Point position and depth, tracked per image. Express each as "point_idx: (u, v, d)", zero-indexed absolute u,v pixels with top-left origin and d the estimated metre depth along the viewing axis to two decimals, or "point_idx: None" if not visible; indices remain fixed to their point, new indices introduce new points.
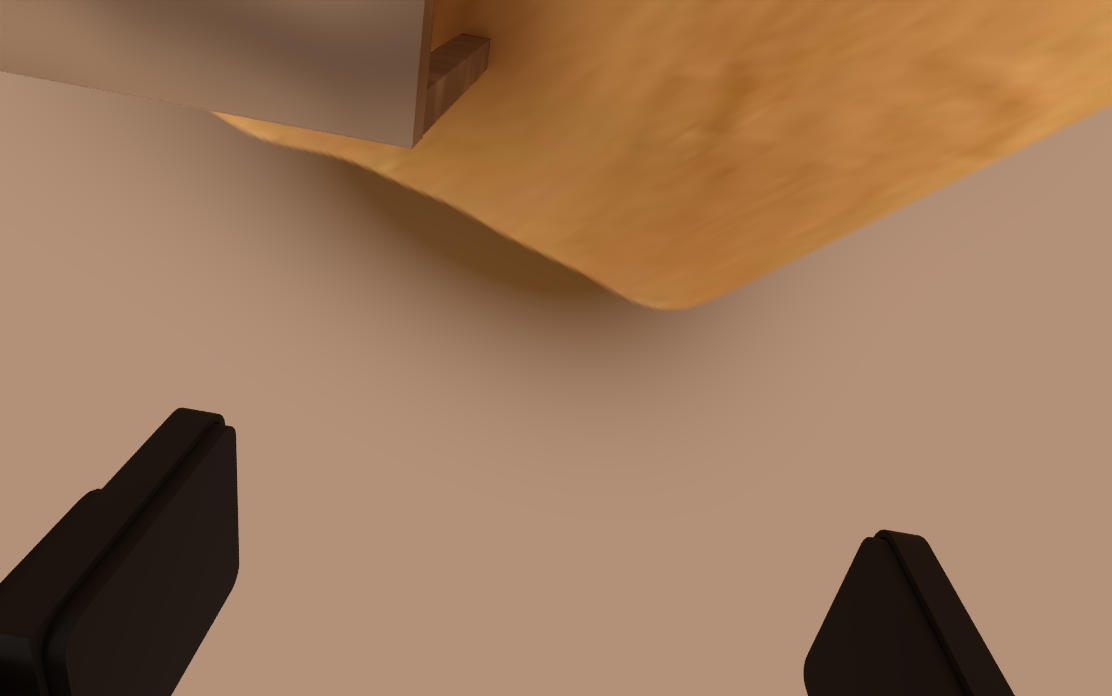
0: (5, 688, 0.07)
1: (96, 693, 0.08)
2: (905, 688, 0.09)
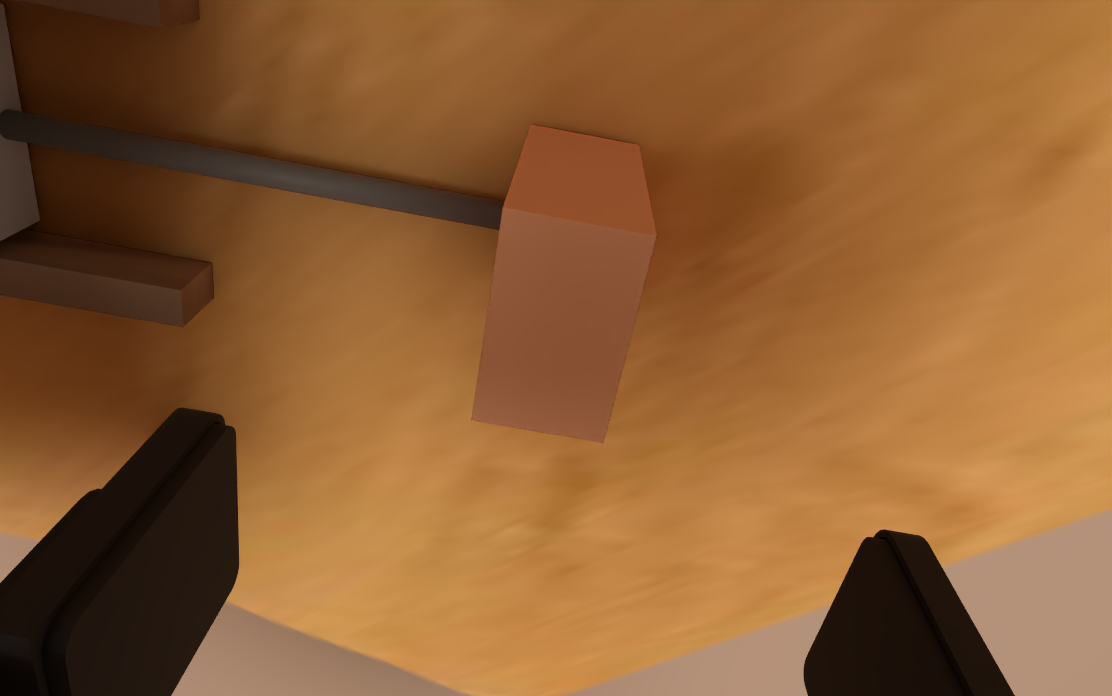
0: (5, 688, 0.07)
1: (96, 693, 0.08)
2: (905, 688, 0.09)
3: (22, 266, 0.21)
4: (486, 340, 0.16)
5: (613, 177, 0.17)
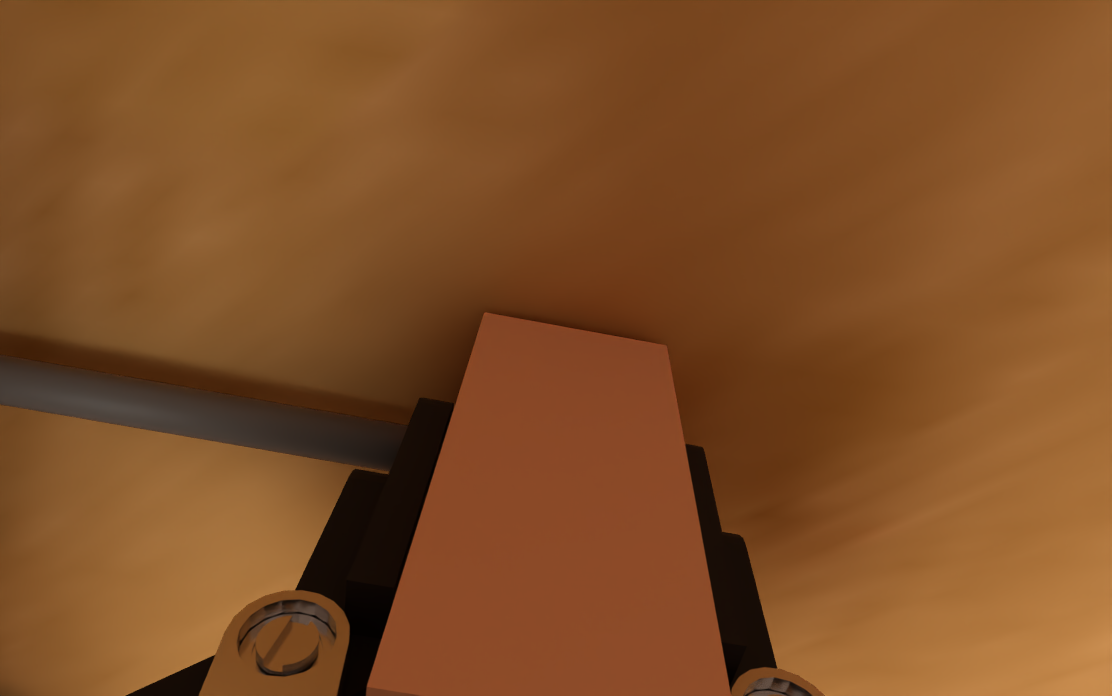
0: (360, 632, 0.08)
1: None
2: None
3: None
4: None
5: (629, 471, 0.09)
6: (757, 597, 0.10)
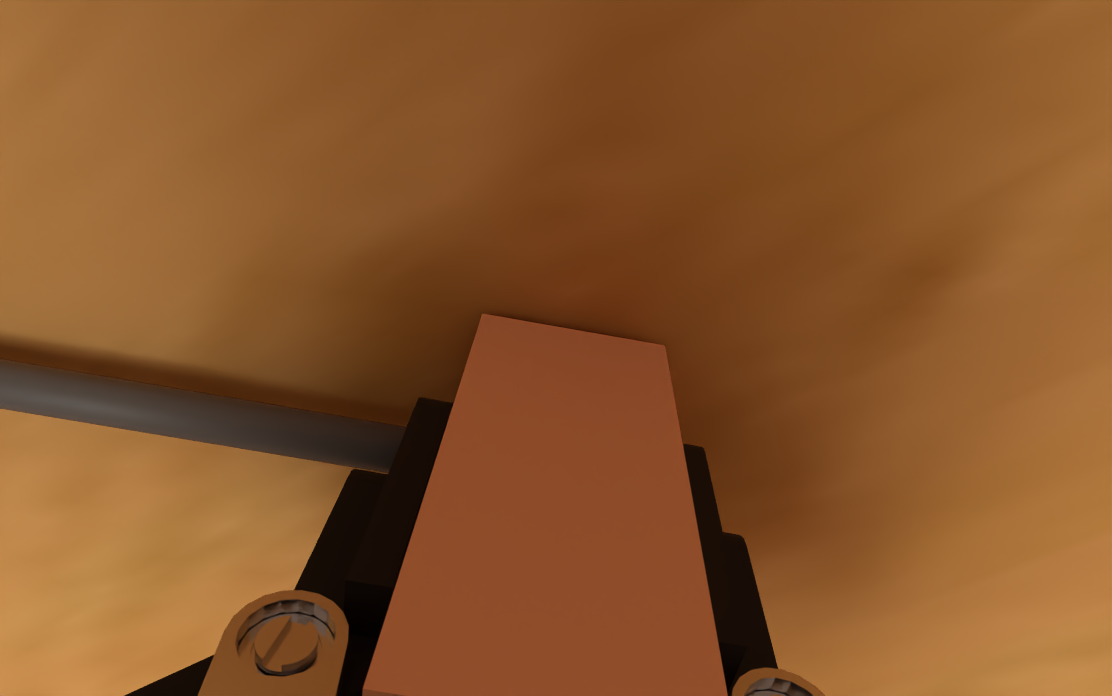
0: (359, 631, 0.08)
1: None
2: None
3: None
4: None
5: (626, 472, 0.09)
6: (758, 597, 0.10)
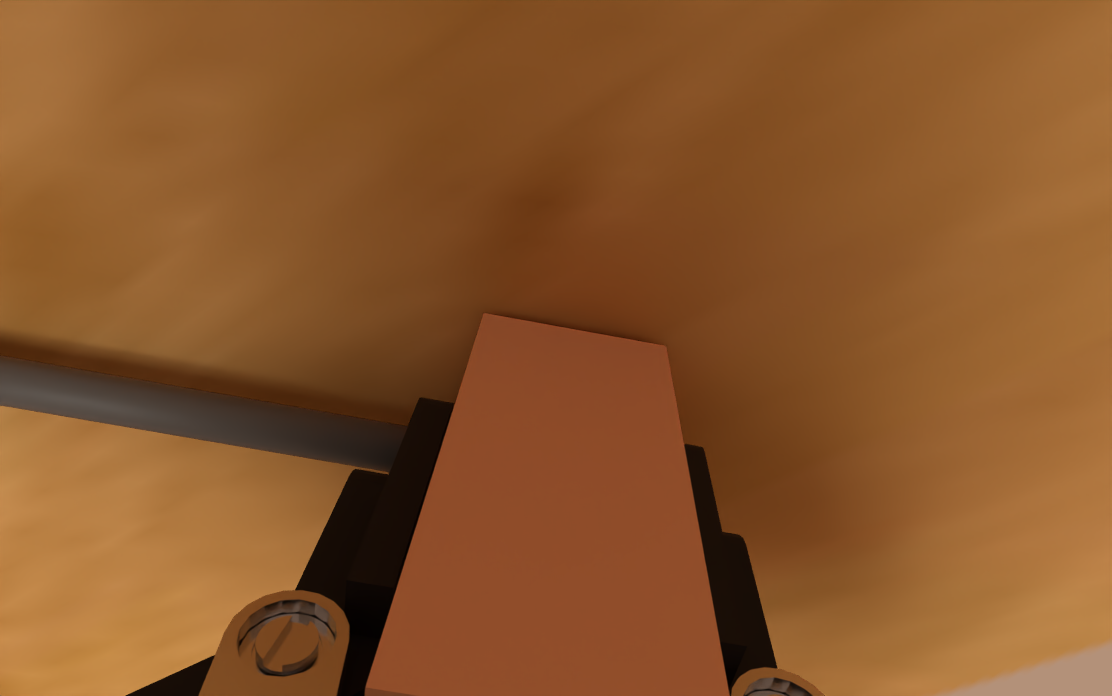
0: (360, 632, 0.08)
1: None
2: None
3: None
4: None
5: (628, 472, 0.09)
6: (757, 597, 0.10)
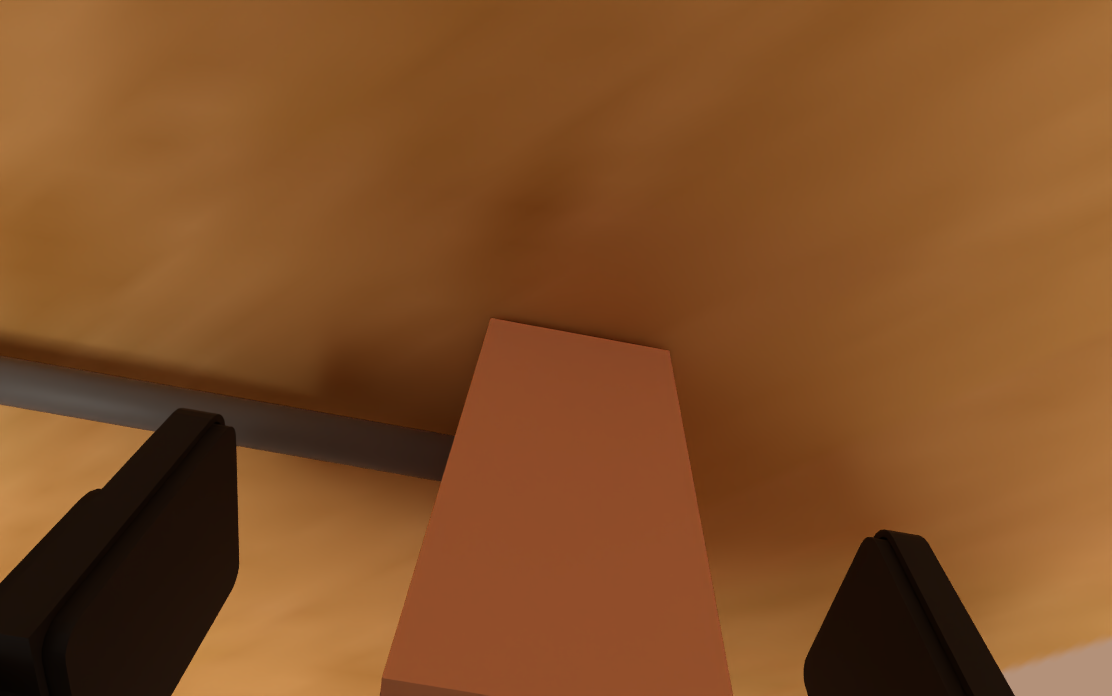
0: (4, 688, 0.07)
1: (96, 693, 0.08)
2: (905, 688, 0.09)
3: None
4: None
5: (633, 474, 0.09)
6: None
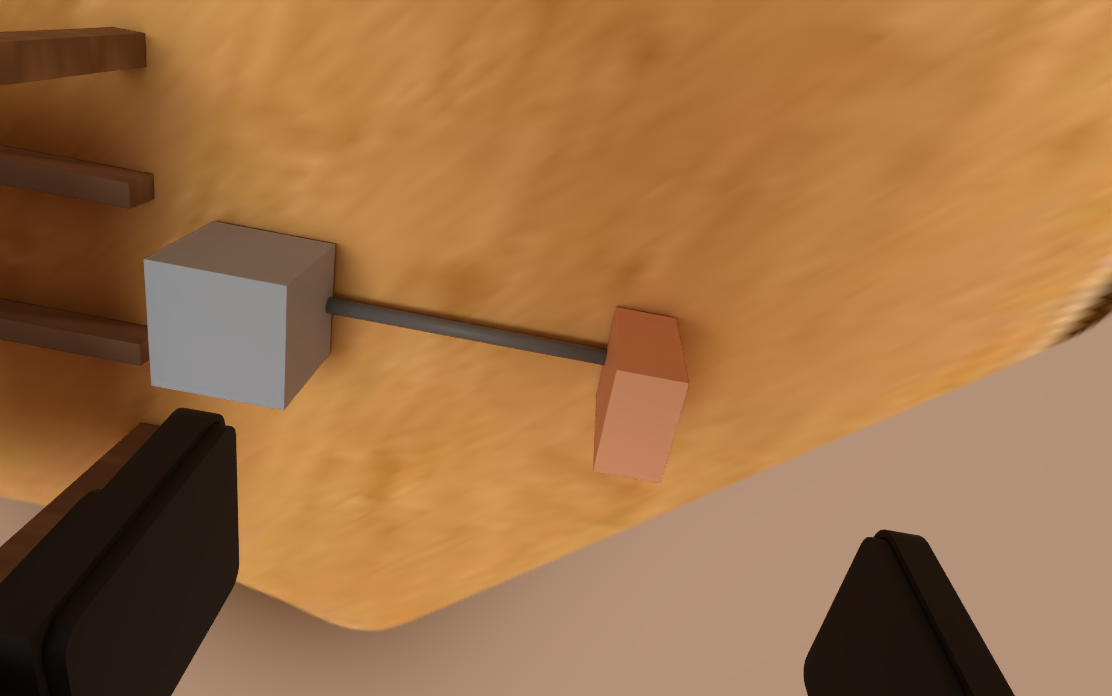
0: (5, 688, 0.07)
1: (96, 693, 0.08)
2: (905, 688, 0.09)
3: (51, 330, 0.38)
4: (604, 431, 0.32)
5: (665, 345, 0.34)
6: None
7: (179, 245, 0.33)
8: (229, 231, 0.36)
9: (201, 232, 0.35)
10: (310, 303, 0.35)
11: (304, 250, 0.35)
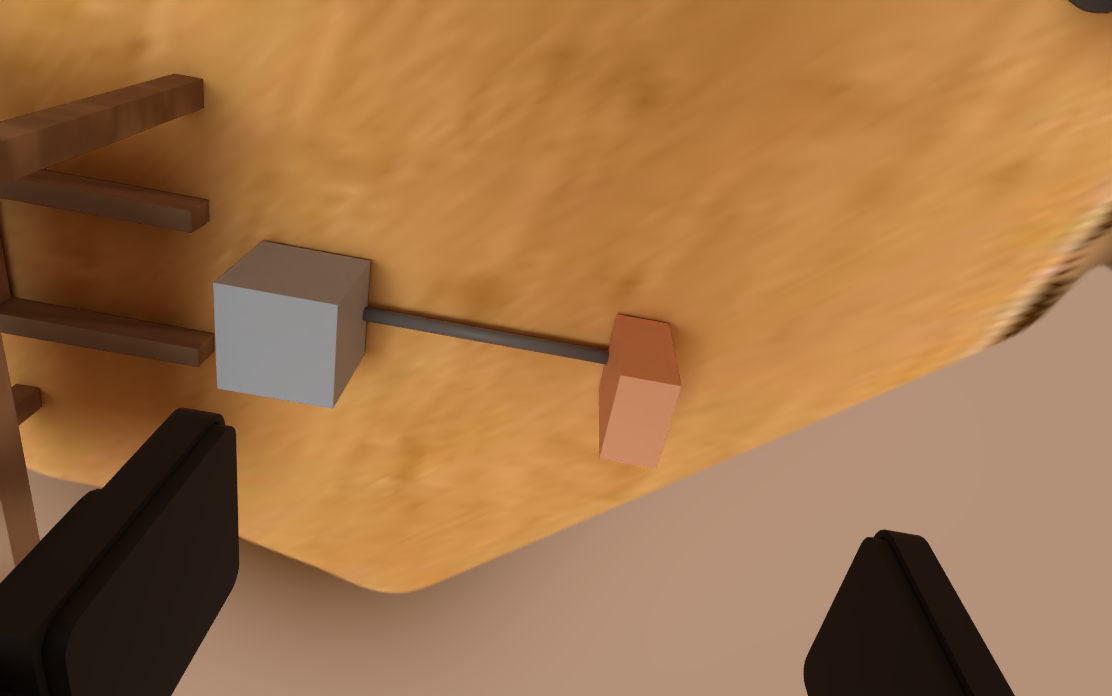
0: (5, 688, 0.07)
1: (96, 693, 0.08)
2: (905, 688, 0.09)
3: (118, 337, 0.43)
4: (609, 425, 0.38)
5: (660, 350, 0.39)
6: None
7: (239, 267, 0.38)
8: (278, 250, 0.41)
9: (255, 253, 0.40)
10: (353, 315, 0.40)
11: (346, 268, 0.40)
